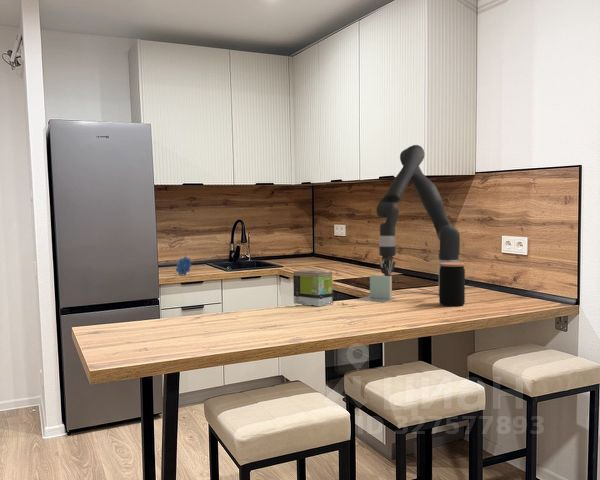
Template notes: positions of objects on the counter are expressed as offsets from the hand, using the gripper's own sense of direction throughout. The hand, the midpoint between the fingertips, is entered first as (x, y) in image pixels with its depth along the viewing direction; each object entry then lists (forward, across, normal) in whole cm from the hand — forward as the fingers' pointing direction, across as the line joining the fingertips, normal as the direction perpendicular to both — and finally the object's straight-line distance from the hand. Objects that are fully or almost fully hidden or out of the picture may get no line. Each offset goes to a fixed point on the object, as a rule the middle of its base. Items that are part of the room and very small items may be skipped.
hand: (387, 282), depth 263 cm
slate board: (+8, -12, 0) cm, 15 cm away
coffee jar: (+8, -1, -31) cm, 32 cm away
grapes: (+8, +24, +160) cm, 162 cm away
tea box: (+8, -31, +22) cm, 38 cm away
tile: (+6, -7, 0) cm, 10 cm away
